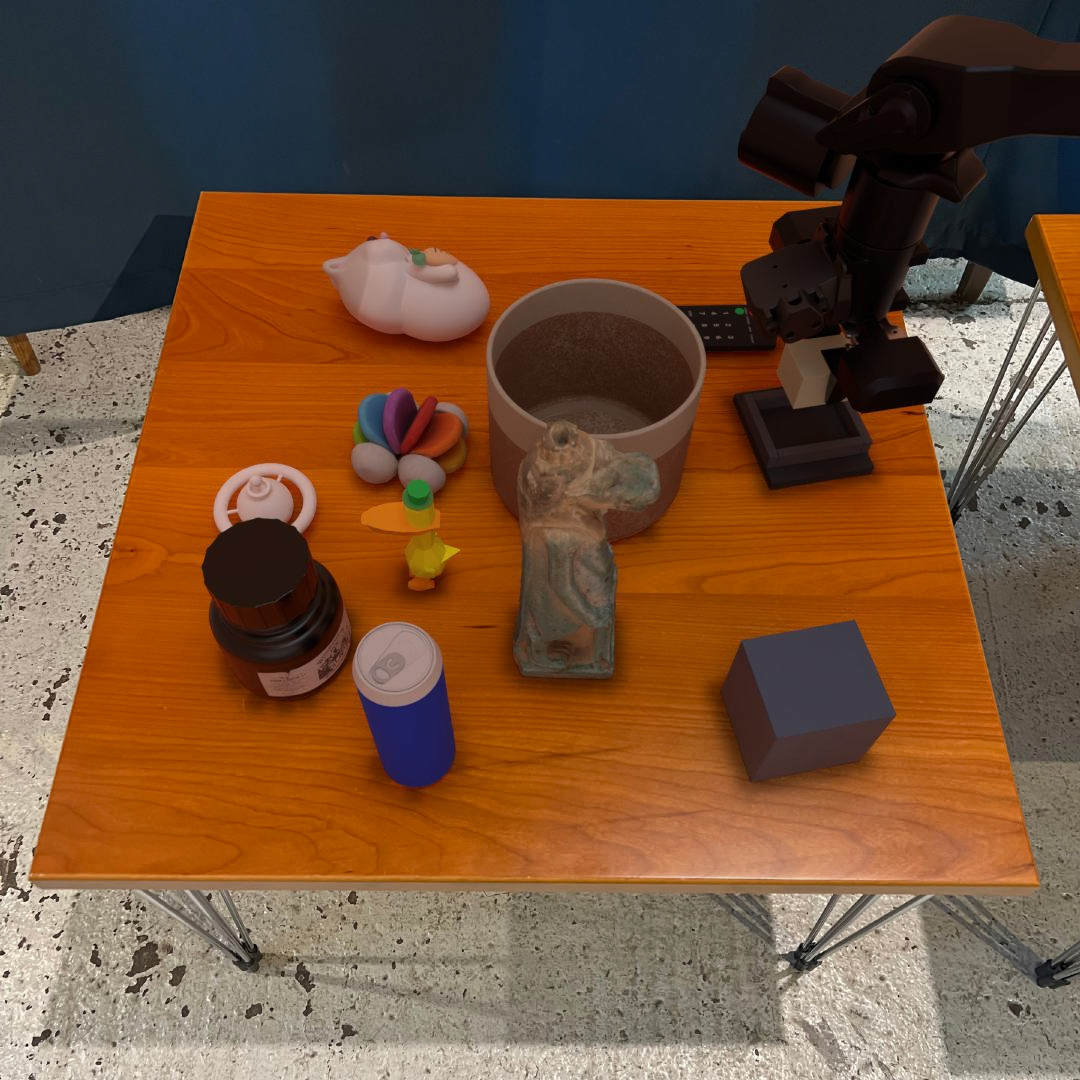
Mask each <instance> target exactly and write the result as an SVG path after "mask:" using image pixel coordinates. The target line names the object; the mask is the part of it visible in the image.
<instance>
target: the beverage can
mask: <svg viewBox="0 0 1080 1080" xmlns="http://www.w3.org/2000/svg"><path fill="white" fill-rule="evenodd" d="M351 673H352V679H353V682H354V685H355V688H356V691H357V694H358V697H359V700H360V703H361V706H362V709H363V711H364V715H365V718H366V722H367V724H368V727H369V729H370V732H371V735H372V739H373V742H374V745H375V747H376V751H377V754H378V756H379V760H380V763H381V766H382V768H383V770H384V772H385V773H386V775H387V776H388V777H389V778H390V779H391V780H392V781H394V782H395V783H397V784H399V785H401V786H404V787H407V788H424V787H428V786H431V785H433V784H435V783H437V782H439V781H440V780H441V779H442V778H444V777H445V776H446V774H447V773H448V772H449V771H450V769H451V767H452V766H453V764H454V761H455V758H456V741H455V740H456V739H455V733H454V727H453V720H452V714H451V707H450V700H449V695H448V687H447V681H446V674H445V668H444V661H443V655H442V652H441V648H440V647H439V644H438V643H437V642H436V640H435V639H434V638H433V637H432V636H431V635H430V634H429V633H428V632H427V631H425V630H424V629H423V628H422V627H420V626H418V625H416V624H413V623H410V622H406V621H390V622H385V623H381V624H380V625H377V626H375V627H373V628H372V629H370V631H368V632H367V633H366V634H365V635H364V636H363V637H362V638H361V640H360V641H359V643H358V645H357V647H356V650H355V653H354V656H353V659H352V663H351Z"/></svg>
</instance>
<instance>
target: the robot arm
mask: <svg viewBox="0 0 1080 1080" xmlns="http://www.w3.org/2000/svg"><path fill="white" fill-rule="evenodd" d="M1028 136H1029V137H1030V136H1036V137H1053V138H1073V139H1080V42H1063V41H1062V42H1061V41H1059V40H1058V41H1057V40H1051V39H1047V38H1042V37H1039V36H1037V35H1035V34H1033V33H1032V32H1029V31H1028V30H1026V29H1024V28H1023V27H1020V26H1018V25H1016V24H1015V23H1011V22H1006V21H999V20H994V19H988V18H982V17H977V16H971V15H965V14H952V15H948V16H942V17H938V18H937V19H935V20H933V21H932V22H930V23H929V24H928V25H926V26H925V27H924V28H922V29H921V30H920V31H919V32H918V33H917V34H916V35H914V36H913V37H912V38H910V40H909V41H907V42H906V43H905V44H904V45H902V46H901V47H900V48H899V49H898V50H897V51H895V52H894V53H893V54H892V55H891V56H889V58H888V59H886V60H885V61H883V63H881V65H880V66H879V67H878V68H877V69H876V70H875V71H874V73H873V74H872V75H871V77H870V80H869V82H868V84H867V85H865V86H864V87H863V88H862V89H861V90H859V91H858V92H857V93H856V94H854V95H853V96H852V95H850V94H847V93H845V92H843V91H841V90H838V89H836V88H834V87H832V86H829V85H827V84H825V83H822V82H821V81H818V80H816V79H814V78H812V77H810V76H809V75H807V73H805V72H804V71H802V70H800V69H798V68H796V67H794V66H791V65H789V64H786V65H784V66H783V67H781V68H780V69H778V70H777V71H776V72H775V73H773V74H772V75H771V76H770V77H768V79H767V85H766V90H765V93H764V94H763V96H762V97H761V98H760V100H759V102H757V104H756V106H755V108H754V109H753V111H752V113H751V115H750V117H749V120H748V122H747V124H746V127H745V128H744V129H743V130H742V131H741V133H740V135H739V139H738V142H737V143H738V145H737V159H738V162H739V164H741V165H743V166H744V167H747V168H749V169H751V170H753V171H755V172H757V173H759V174H762V175H764V176H766V177H768V178H769V179H772V180H774V181H775V182H777V183H779V184H782V185H784V186H786V187H788V188H789V189H792V190H793V191H796V192H798V193H800V194H802V195H804V196H807V197H808V198H811V199H813V198H814V199H815V198H817V197H818V196H819V195H821V193H823V192H824V191H825V190H826V188H828V189H829V190H831V191H835V190H837V189H839V188H840V187H841V185H843V183H844V182H845V181H846V180H847V178H848V177H849V175H850V177H849V180H848V183H847V186H846V190H845V193H844V195H843V199H842V202H841V204H838V205H829V206H822V207H815V208H814V207H813V208H806V209H797V210H791V211H790V210H789V211H786V212H785V213H784V214H782V215H781V216H780V217H779V218H778V219H776V220H775V221H773V223H772V227H771V230H770V234H769V238H768V245H769V246H770V248H771V250H772V252H770V253H767V254H765V255H762V256H760V257H757V258H754V259H753V260H750V261H747V262H745V264H743V265H742V267H741V268H740V271H739V277H740V280H741V281H740V282H741V285H742V291H743V294H744V299H745V305H747V306H748V308H749V310H750V312H751V314H752V316H753V318H754V320H755V323H756V325H757V328H758V330H759V332H760V334H761V335H763V336H765V337H768V338H773V337H777V336H778V337H780V338H781V341H782V342H783V344H786V343H787V344H792V343H795V342H797V341H800V340H805V339H812V338H819V337H826V336H833V335H840V334H844V336H845V337H846V338H847V339H851V340H850V342H851V344H850V343H847V344H845V347H839V348H832V349H825V350H821V354H822V356H823V358H824V360H825V362H826V364H827V366H828V368H829V370H830V375H829V380H828V384H827V388H826V394H825V403H826V405H832V404H837V403H840V402H841V401H842V400H844V399H845V398H847V399H848V401H849V403H850V405H851V407H852V409H854V410H856V411H858V413H859V414H860V413H861V414H862V415H865V414H870V413H876V412H883V411H889V410H897V409H903V408H910V407H916V406H922V405H930V404H932V403H933V401H934V400H935V398H936V396H937V395H938V392H939V390H940V388H941V387H942V385H943V383H944V381H945V379H946V377H945V375H944V374H943V372H942V370H941V368H940V366H939V365H938V363H937V362H936V360H935V358H934V357H933V354H932V353H931V351H930V349H929V348H928V346H927V344H926V343H925V342H924V341H923V340H922V339H921V337H919V335H912V336H908V335H907V333H906V331H905V329H903V328H902V327H901V326H900V325H896V324H892V323H891V321H890V320H889V318H888V317H887V315H888V313H893V312H901V311H906V310H907V307H908V305H909V303H910V301H911V298H910V297H909V295H908V294H907V291H906V289H905V288H904V286H903V285H904V282H905V280H906V278H907V276H908V273H909V270H910V268H911V267H917V266H924V265H926V264H927V262H928V260H929V257H930V255H931V253H932V251H930V249H929V247H928V246H927V245H926V243H925V241H924V240H923V237H924V235H925V232H926V230H927V227H928V225H929V223H930V221H931V218H932V216H933V214H934V212H935V208H936V207H937V204H938V201H939V199H940V198H942V199H944V200H946V201H949V202H950V203H953V204H960V203H962V202H963V201H964V200H965V199H966V198H967V196H968V195H970V194H971V193H972V191H973V190H975V188H976V187H977V186H978V185H979V184H980V183H981V182H982V181H983V180H984V179H985V177H986V176H987V169H986V167H985V166H984V164H983V162H982V160H981V159H980V158H979V157H978V156H977V155H976V153H975V152H974V149H975V148H978V147H982V146H985V145H988V144H992V143H996V142H999V141H1003V140H1006V139H1010V138H1011V139H1012V138H1017V137H1018V138H1019V137H1028Z"/></svg>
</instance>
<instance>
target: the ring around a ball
mask: <svg viewBox="0 0 1080 1080" xmlns="http://www.w3.org/2000/svg"><path fill="white" fill-rule="evenodd" d="M269 477H277V478H276V479H274V478H269ZM282 479H286V480H288V481H290V482H292V483H293V484H295V486H296V487H297V488H298V489H299V491H300V493H301V495H302V502H303V503H302V508H301V512H300V513H299V515H298V516H297V518H296V519H295V520H294V521H293V522H292V523H291V525H293V526H295V527H296V528H297V530H298V531H299V532H300V533H301V535H303V533H304V532H305V531H306V530H307V529H308V527H309V526H310V525H311V523H312V521H313V520H314V518H315V514H316V511H317V504H318V501H317V500H318V499H317V498H318V497H317V493H316V489H315V487H314V485H313V483H312V481H311V480H310V479H309V478H308V477H307V475H305V474H304V473H303V472H302V471H300V470H298V469H297V468H294V466H293V467H292V466H290V465H287V464H284V463H278V462H265V463H264V462H263V463H258V464H254V465H250V466H247V467H245V468H243V469H241V470H240V471H239V470H238V471H237V472H236V473H234V474H233V475H232V476H230V477H229V478H228V479H227V480H226V481H225V482H224V483H223V484H222V485H221V487H220V489H219V491H218V492H217V494H216V496H215V499H214V502H213V510H212V513H213V519H214V522H215V526H216V528H217V529H218V531H219V533H221V532H223V531H225V530H227V529H228V528H230V527H232V526H233V525H234V524H233V523H232V522H231V520H230V518H229V515H231V514H238V517H239V519H240V520H241V522H243V521H247V520H251V519H254V518H258V517H260V518H268V519H280V520H281V521H283V522H285V523H287V524H289V521H290V520H291V519H292V516H293V513H294V509H295V508H294V507H295V505H294V499H293V496H292V493H291V491H290V490H289V489H288V487H287V486H286V485H285V484H284V483H282V482H281V481H282ZM241 487H242V488H241ZM240 488H241V490H240V492H239V493H238V496H237V499H236V508H235V509H230V510H229V509H228V508H229V503H230V501H231V499H232V497H233V496H234V494H235V493H236V491H238V490H239V489H240Z"/></svg>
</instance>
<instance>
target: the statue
mask: <svg viewBox="0 0 1080 1080" xmlns="http://www.w3.org/2000/svg"><path fill="white" fill-rule="evenodd" d="M660 491H661V486H660V475H659V470H658V467H657V464H656V463H655V462H654V461H653V459H652V456H650V455H648V454H645V453H640V452H633V453H625V454H623V453H621V452H619V451H616V450H615V449H614V446H613V443H612V442H610V441H609V440H598V439H593V438H592V437H590V436H589V435H588V434H587V433H586V432H584V431H581V430H579V429H577V425H575V424H572V423H570V422H567V421H565V420H563V421H556V422H547V429H546V430H545V431H544V433H543V434H542V436H541V439H540V440H539V441H537V442H536V443H535V444H534V445H533V446H532V447H531V448H530V450H529V451H528V453H527V455H526V457H525V459H522V461H521V464H520V466H519V473H518V478H517V499H518V508H519V519H518V520H519V529H520V534H521V575H520V587H519V588H520V589H519V599H518V602H519V605H518V610H517V613H516V617H515V621H514V625H515V629H514V631H513V634H512V642H513V644H512V657H513V660H514V663H515V665H516V666H517V667H518V671H519V673H520V674H521V676H523V677H534V678H552V679H553V678H554V679H555V678H556V679H557V678H558V679H597V680H607V679H608V680H609V679H610V678H612V677H613V676H614V675H615V640H616V639H615V636H616V635H615V632H616V631H615V618H616V609H617V604H616V595H617V589H618V577H619V576H618V575H619V572H618V566H617V564H616V563H615V562H614V559H615V557H616V554H615V552H614V547H613V545H612V544H610V542H608V541H606V540H607V538H608V536H609V530H608V526H607V522H606V519H605V516H604V514H605V513H607V512H608V510H609V509H617V510H621V511H626V512H635V513H639V512H641V511H644V510H646V508H647V506H648V504H651V503H654V502H655V501H656V500H657V499H658V498H659V496H660Z"/></svg>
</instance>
